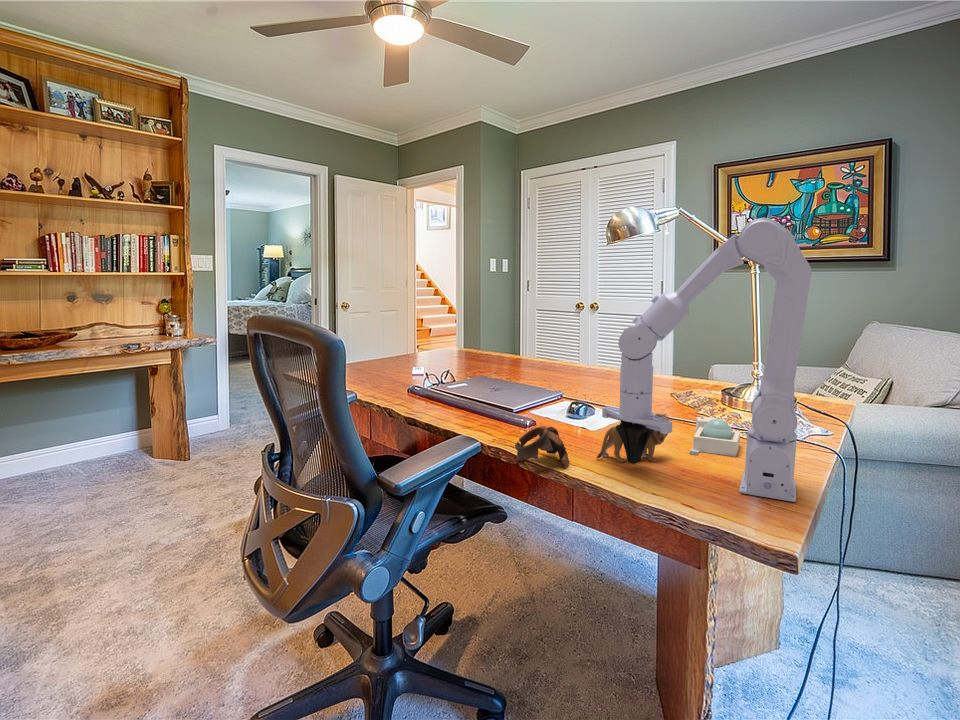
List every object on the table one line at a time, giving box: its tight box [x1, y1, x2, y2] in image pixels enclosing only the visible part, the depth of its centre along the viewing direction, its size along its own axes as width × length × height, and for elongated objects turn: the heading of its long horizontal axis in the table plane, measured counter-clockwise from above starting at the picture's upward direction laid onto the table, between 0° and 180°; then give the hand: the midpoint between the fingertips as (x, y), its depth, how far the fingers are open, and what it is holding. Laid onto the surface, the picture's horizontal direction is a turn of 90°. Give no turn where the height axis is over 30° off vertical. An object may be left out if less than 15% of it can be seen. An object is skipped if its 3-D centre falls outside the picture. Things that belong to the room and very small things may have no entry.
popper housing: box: [692, 427, 741, 457], centre depth 108 cm, size 8×8×3 cm
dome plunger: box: [703, 418, 732, 440], centre depth 108 cm, size 5×5×5 cm
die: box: [695, 416, 717, 433], centre depth 116 cm, size 4×4×4 cm
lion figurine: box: [595, 412, 670, 463], centre depth 102 cm, size 15×5×9 cm, turn 96°
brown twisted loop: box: [514, 426, 570, 470], centre depth 102 cm, size 12×9×8 cm
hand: (634, 462), depth 97 cm, fingers closed
